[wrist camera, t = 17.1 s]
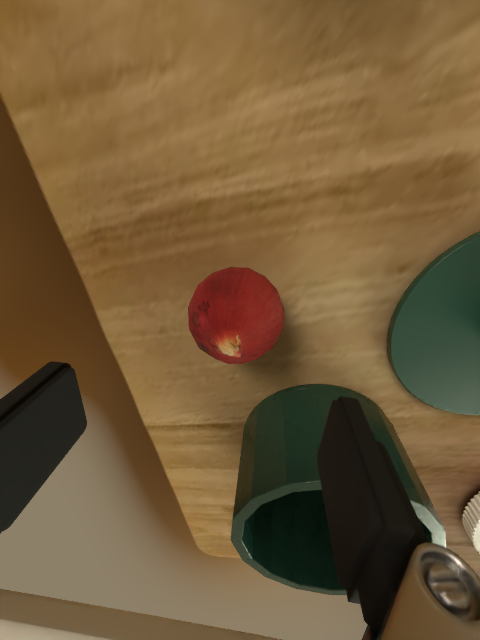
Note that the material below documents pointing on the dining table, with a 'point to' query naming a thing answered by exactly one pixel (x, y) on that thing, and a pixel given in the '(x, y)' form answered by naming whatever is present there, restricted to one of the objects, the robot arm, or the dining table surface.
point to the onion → (236, 315)
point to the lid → (441, 331)
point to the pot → (304, 487)
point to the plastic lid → (473, 521)
